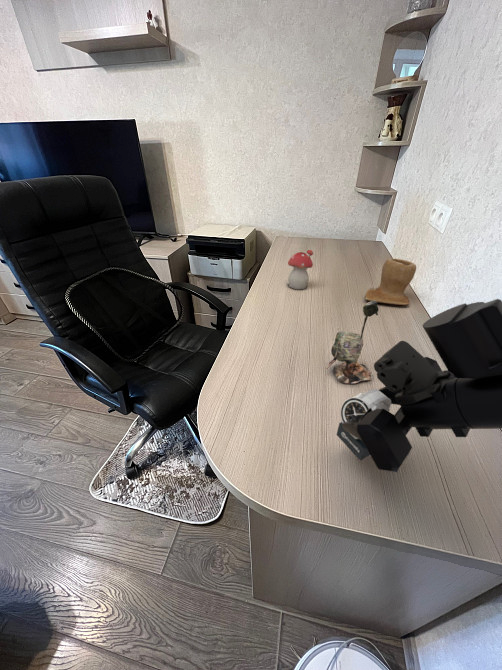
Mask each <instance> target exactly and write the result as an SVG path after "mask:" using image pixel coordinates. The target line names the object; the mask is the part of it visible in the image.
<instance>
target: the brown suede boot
mask: <svg viewBox="0 0 502 670" xmlns="http://www.w3.org/2000/svg"><path fill="white" fill-rule="evenodd" d="M416 271H417V265H416V264H415V263H414V262H412V261H408V260H407V259H403V258H402V259H401V258H394V257H393V258H392V257H391V258H390V257H389V258H387V259H386V260H385V262H384V264H383V265H382V268H381V276H380V284H379V286H378V287H376V288H368V289H367V291H366V293H365V298H364V300H365V301H368V302H371V301H373V300H375V301H376V302H377V303H381V304H388V305H397V306H398V305H399V306H407V305H409V304H410V299H409V297H408V296H407V295H406V294H405V291H406V289H407V287H408V286H409V285H410V284H411V282H412V281H413V279H414V277H415V274H416Z"/></svg>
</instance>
